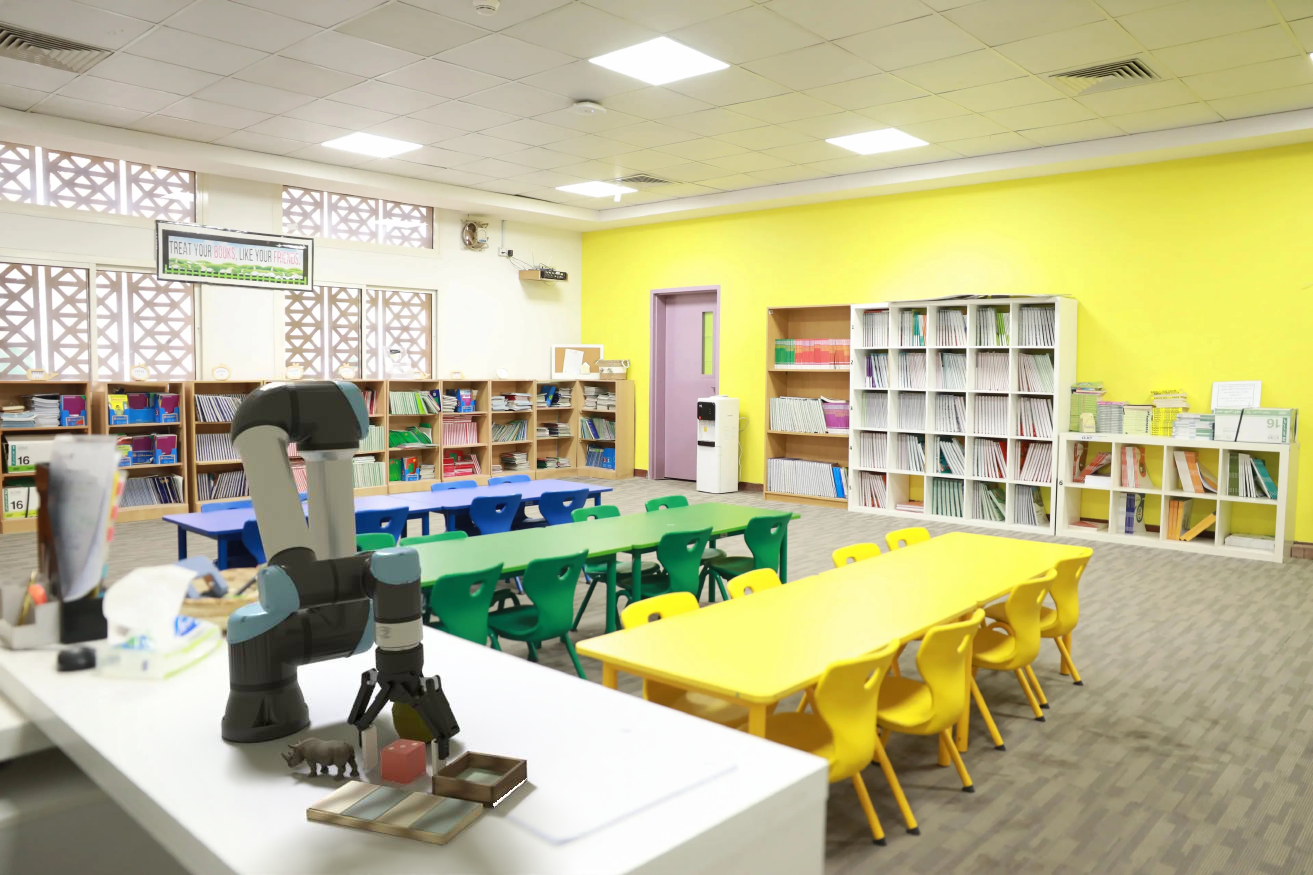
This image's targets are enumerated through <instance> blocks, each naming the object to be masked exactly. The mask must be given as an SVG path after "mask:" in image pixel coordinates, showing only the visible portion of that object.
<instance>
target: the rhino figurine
mask: <svg viewBox="0 0 1313 875" xmlns="http://www.w3.org/2000/svg"><path fill="white" fill-rule="evenodd" d="M287 746H288V748H289V750H293V751H292V752H291V751H287V754H288V755H286V754H284V753H283V752H280V756H281V757H282V758H283V759H284V761H286V763H287V766H288V767H289V768H290V769H292V768H295V767H298V766H299V765H301V764H302V763H304V761H306V763H307V765H308V767H309V768H310V772H309V773H308V774H307V778H309V779H312V778H316V777H317V776H318V772H317V771H318V770H317V769H318V765H317V764H319V765H320V767H321V768H320V770H319V772H320V773H326V772H328V771H329V768H330V767H331V766H335V767H336V768H337V773H336V774H335V776H334V777H333V780H334V781H335V782H339V781H343V780H344V779H345V773H346V771H347V767H346V765H347V764H348V765H349V766H350V768H351V771H350V772H349V777H357V776H358V775H360V772H359V768H358V763H357V762H356V754H355V753H356V752H355V748H354V747H353V745H352V744H351V743H350V742H348V741H345V740H336V739H332V740H328V741H326V740H322V739H320V738H316V737H309V738H307V739H305V740H303V741H301V740H300V738H299V739H297V740H296V744H287Z"/></svg>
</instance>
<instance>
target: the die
mask: <svg viewBox="0 0 1313 875" xmlns="http://www.w3.org/2000/svg"><path fill="white" fill-rule="evenodd" d="M426 753H427V752H426V743H425V742H420V741H413V740H407V739H400V738H398V739H396V740H395V741H394V742H392V743H390V744H388V745H386V746H385V747H384V748H382V749H380V769H381V773H380V774H381V781H386V782H392V783H397V784H401V785H402V784H403V785H409V784H411V783H412V782H414V781H415V780H416V779H418V778H419V777H421V776H422V775H423V774H425V773H427V758H426V757H427V755H426Z"/></svg>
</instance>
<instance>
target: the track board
mask: <svg viewBox="0 0 1313 875" xmlns="http://www.w3.org/2000/svg"><path fill="white" fill-rule="evenodd" d="M305 810H306V812H305V813H306V818H307V819H313V820H317V821H323V822H328V823H332V824H337V825H343V826H347V827H352V828H357V829H363V830H367V831H373V832H378V833H381V834H387V835H393V836H396V837H402V838H407V839H412V840H416V841H417V840H418V841H423V842H426V843H433V844H435V845H436V844H438V845H443V846H445V845H446V844H447V843H448V842H449V841H451V840H452V839H453V838H454V837H456V836H457V835H458V834H459V833H460V832H461V831H462V830H463V829H465V828H466V827H468V825H469V824H471V823H472V822H473V821H474V820H475V819H477V818H478V817H479V816H480V815H481V814H483V813H484V806H483V804H481V803H476V802H470V801H464V800H459V799H453V798H447V797H442V796H436V795H432V794H429V793H424V792H417V791H413V790H407V789H401V788H396V787H391V786H383V785H379V784H372V783H368V782H362V781H357V780H350V781H348V782H346V783H345V784H344V785H342V786H341V787H339V788H336V790H334V791H333V792H331V793H329V794H328V795H326V796H324V797H323V798H321V799H320V800H317V801H316V802H315V803H313V804H312V805H310V806H308V808H307V809H305Z"/></svg>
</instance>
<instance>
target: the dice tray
mask: <svg viewBox="0 0 1313 875" xmlns="http://www.w3.org/2000/svg"><path fill="white" fill-rule="evenodd" d="M527 762H528V760H527V759H525V758H524V759H523V758H518V757H510V756H504V755H498V754H497V755H496V754H491V753H483V752H478V751H471V750H467V751H466V752H464V753H463V754H461V755H460V756H458V757H457V758H456V759H454V760H453V761H451V762H450V763H449V764H446V767H444V768H443V769H441V770H440V771H439V772H437V773H436V774H434V775H433V774H432V776H431V790H432V792H431V793H432V794H431V795H436V796H442V797H447V798H453V799H459V800H464V801H470V802H476V803H481V804H483V808H484V807H486V808H490V809H495V808H494V806H493V803H495V802H497V800H499V799H500V798H501V797H503V796H504V795H505V794H507V793H508V792H509V791H510V790H512V789H513V788H514V787H515V786H517V785H518V784H519V783H521V782H522V781H523V780H525V779H526V778H527V779H528V763H527Z"/></svg>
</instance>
